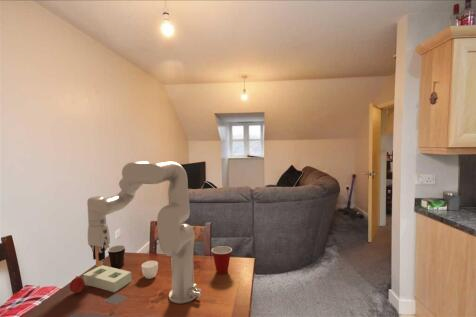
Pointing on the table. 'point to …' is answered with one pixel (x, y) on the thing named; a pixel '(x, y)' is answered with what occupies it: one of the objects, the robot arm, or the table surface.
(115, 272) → the socket block
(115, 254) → the coffee mug
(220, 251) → the plastic cup
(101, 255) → the robot arm
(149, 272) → the cup
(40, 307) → the table surface
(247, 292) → the table surface
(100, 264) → the peg
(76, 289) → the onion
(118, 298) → the mat
